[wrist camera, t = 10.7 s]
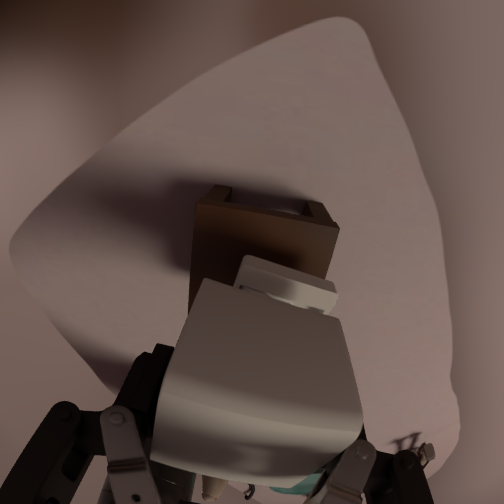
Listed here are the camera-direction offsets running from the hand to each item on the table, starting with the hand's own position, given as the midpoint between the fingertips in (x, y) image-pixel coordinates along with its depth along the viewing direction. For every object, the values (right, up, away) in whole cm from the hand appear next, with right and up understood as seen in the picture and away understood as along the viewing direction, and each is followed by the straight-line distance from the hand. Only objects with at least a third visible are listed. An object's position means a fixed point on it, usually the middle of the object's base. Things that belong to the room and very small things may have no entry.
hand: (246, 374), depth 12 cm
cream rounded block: (+1, +2, +5) cm, 6 cm away
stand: (+1, +6, +13) cm, 14 cm away
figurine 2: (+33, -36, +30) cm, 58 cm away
